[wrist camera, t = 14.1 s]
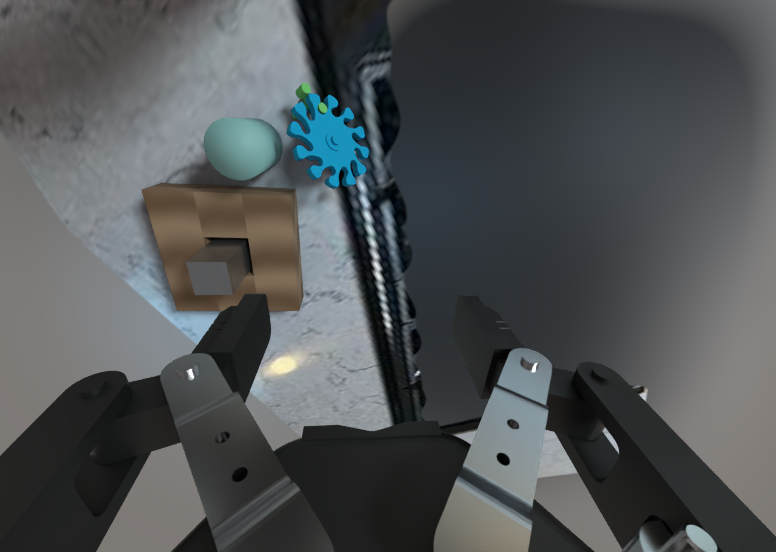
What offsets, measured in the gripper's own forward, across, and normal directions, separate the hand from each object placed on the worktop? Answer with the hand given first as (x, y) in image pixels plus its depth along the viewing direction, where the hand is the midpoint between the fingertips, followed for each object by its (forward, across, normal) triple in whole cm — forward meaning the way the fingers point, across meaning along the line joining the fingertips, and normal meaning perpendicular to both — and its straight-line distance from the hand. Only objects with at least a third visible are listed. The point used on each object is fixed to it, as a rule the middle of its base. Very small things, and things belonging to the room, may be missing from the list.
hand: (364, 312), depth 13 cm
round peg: (+30, +12, -4) cm, 33 cm away
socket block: (+30, +16, +9) cm, 35 cm away
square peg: (+30, +16, +9) cm, 35 cm away
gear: (+30, +3, -5) cm, 31 cm away
